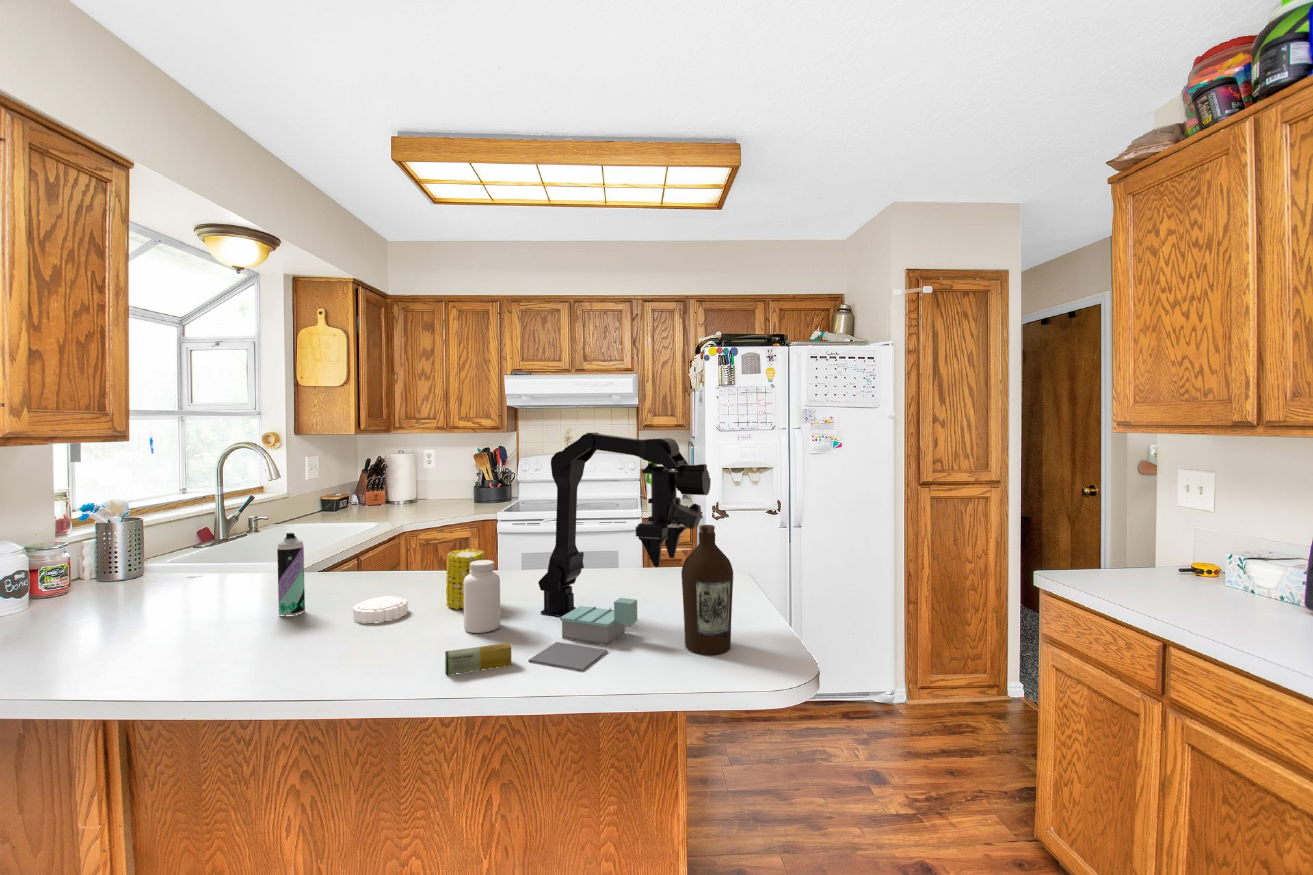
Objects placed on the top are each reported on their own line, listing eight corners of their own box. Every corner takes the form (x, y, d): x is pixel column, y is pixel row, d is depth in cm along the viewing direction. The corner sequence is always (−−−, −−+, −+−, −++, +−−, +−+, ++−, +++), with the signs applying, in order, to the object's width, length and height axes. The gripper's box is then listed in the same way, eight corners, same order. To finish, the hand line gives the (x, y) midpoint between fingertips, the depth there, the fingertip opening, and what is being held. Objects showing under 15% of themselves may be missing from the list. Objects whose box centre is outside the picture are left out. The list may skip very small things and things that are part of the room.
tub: (562, 638, 125) (562, 619, 125) (581, 626, 132) (580, 608, 132) (607, 645, 120) (607, 626, 120) (624, 632, 128) (624, 614, 128)
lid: (560, 622, 124) (559, 599, 124) (580, 610, 132) (580, 588, 132) (625, 632, 118) (625, 607, 118) (642, 619, 126) (642, 596, 126)
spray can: (273, 615, 141) (271, 534, 141) (294, 608, 147) (293, 530, 146) (288, 618, 139) (287, 535, 139) (310, 611, 144) (308, 531, 144)
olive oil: (676, 639, 123) (675, 522, 123) (723, 635, 126) (722, 520, 125) (690, 659, 113) (689, 531, 112) (741, 653, 115) (740, 529, 115)
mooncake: (361, 628, 132) (360, 613, 132) (347, 616, 142) (347, 601, 141) (414, 617, 140) (414, 602, 140) (398, 605, 149) (398, 591, 149)
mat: (528, 661, 112) (528, 659, 112) (556, 643, 122) (556, 641, 122) (582, 671, 108) (582, 669, 108) (607, 651, 117) (607, 649, 117)
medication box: (445, 677, 106) (445, 656, 106) (444, 671, 109) (444, 650, 109) (512, 667, 111) (512, 646, 111) (510, 661, 113) (510, 641, 113)
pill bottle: (507, 624, 134) (507, 560, 133) (483, 636, 126) (482, 568, 126) (481, 620, 137) (480, 557, 137) (456, 631, 130) (455, 564, 129)
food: (475, 603, 155) (487, 615, 147) (431, 600, 149) (440, 613, 140) (488, 547, 156) (500, 555, 148) (444, 542, 150) (455, 551, 141)
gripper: (683, 500, 119) (683, 575, 119) (710, 490, 136) (710, 556, 137) (634, 497, 123) (634, 570, 124) (666, 488, 141) (667, 552, 141)
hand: (664, 562), depth 131 cm, fingers open, 9 cm apart
